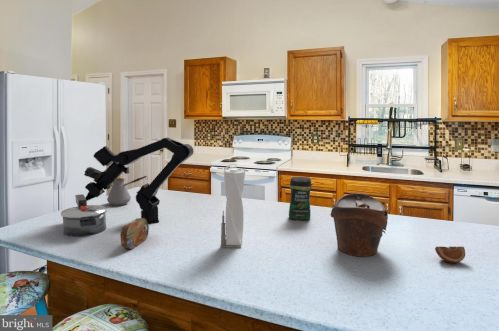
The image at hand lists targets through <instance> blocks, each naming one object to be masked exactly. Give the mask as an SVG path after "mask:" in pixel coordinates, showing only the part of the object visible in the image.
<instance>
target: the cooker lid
mask: <svg viewBox="0 0 499 331" xmlns="http://www.w3.org/2000/svg"><path fill="white" fill-rule="evenodd" d="M74 197H75V203H76V205H77V206H72V207H69V208H65V209H63V210H61V212H60V217H61V218H63V217H64V218H71V219H78V218H89V217H94V216H98V215H101V214H104V213H105V214H106V213H107V207H106V206H103V205H99V204H98V205H97V204H95V205H94V204H89V205H88V204H87V202H88V201H87V200H86V198H85V197H86V196H85V195H84V194H83V193H81V194H75V196H74Z"/></svg>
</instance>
